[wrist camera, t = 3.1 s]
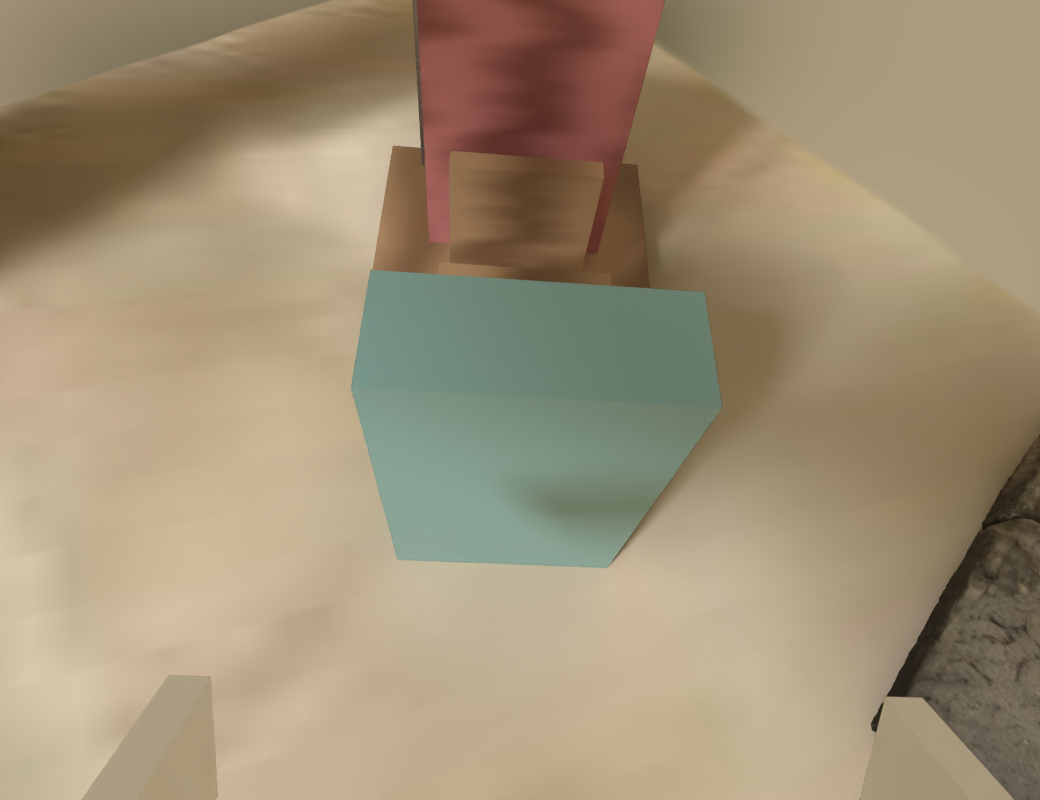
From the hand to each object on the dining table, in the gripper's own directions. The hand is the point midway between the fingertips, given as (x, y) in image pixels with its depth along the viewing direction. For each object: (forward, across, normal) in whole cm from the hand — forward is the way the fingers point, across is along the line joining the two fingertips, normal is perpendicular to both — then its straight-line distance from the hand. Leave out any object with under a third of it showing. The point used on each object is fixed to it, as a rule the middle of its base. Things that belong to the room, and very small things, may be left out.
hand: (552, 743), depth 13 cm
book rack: (+30, 0, +7) cm, 31 cm away
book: (+19, 0, -5) cm, 20 cm away
